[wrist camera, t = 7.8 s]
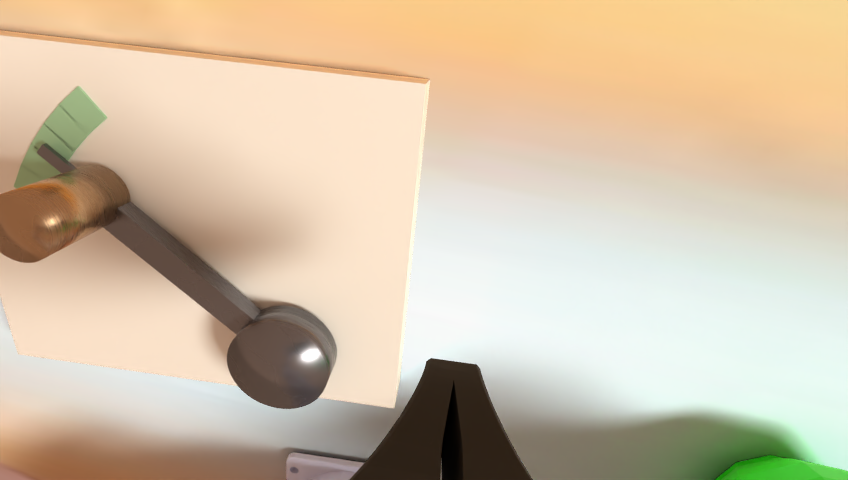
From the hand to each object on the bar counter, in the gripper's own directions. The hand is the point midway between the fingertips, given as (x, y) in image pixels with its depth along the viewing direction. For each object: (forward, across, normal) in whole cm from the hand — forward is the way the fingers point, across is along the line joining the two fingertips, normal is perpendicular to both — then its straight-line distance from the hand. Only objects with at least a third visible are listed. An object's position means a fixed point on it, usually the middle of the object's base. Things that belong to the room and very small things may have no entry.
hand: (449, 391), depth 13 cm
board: (+9, +12, 0) cm, 15 cm away
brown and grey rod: (+7, +11, +2) cm, 13 cm away
